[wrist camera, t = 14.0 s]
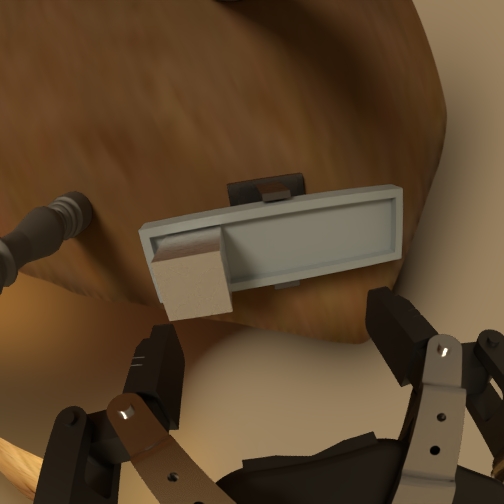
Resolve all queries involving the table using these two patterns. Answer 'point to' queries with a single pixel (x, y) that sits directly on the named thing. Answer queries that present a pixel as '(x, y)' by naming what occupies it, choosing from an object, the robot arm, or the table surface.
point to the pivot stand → (267, 196)
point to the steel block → (193, 273)
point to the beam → (297, 234)
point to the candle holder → (42, 233)
